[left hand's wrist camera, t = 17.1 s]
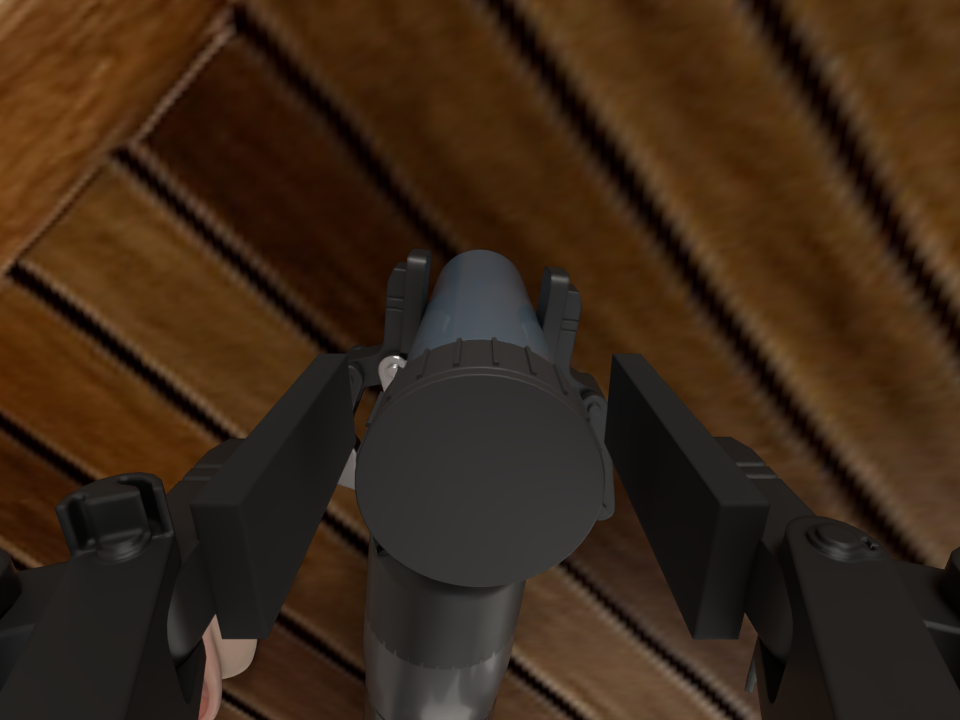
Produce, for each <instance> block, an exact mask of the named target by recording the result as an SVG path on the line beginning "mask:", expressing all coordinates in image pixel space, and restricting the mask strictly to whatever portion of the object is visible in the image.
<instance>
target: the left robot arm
mask: <svg viewBox="0 0 960 720" xmlns="http://www.w3.org/2000/svg"><path fill="white" fill-rule="evenodd" d="M355 444H356V437H355V427H354V416H353V406H352V396H351V386H350V376H349V365H348V355H347V354H319V355H318V356H317V357H316V358H315V359H314V361H313V362H312V363H311V364H310V365H309V366H308V367H307V369H306V370H305V371H304V372H303V373H302V374H301V376H300V377H299V378H298V379H297V380H296V381H295V382H294V384H293V385H292V386H291V387H290V388H289V389H288V391H287V392H286V393H285V394H284V395H283V396H282V397H281V399H280V400H279V401H278V402H277V403H276V404H275V406H274V407H273V408H272V409H271V410H270V411H269V412H268V414H267V415H266V416H265V417H264V418H263V419H262V421H261V422H260V423H259V424H258V425H257V426H256V427H255V429H254V430H253V431H252V432H251V433H250V434H249V436H248V437H247V438H246V439H228V440H227V441H225V442H223V443H221V444H220V445H218V446H216V447H214V448H213V449H211V450H209V451H208V452H207V453H206V454H205V455H204V456H203V457H202V458H201V459H200V460H199V461H198V462H197V463H196V464H195V465H194V466H195V467H194V468H192V469H191V470H190V471H189V472H188V473H187V474H186V475H185V476H184V477H183V480H182V481H179V482H178V483H177V484H176V485H175V486H174V487H173V488H172V489H171V490H170V491H169V492H168V494H167V495H165V491H164V487H163V483H162V480H161V479H160V478H158V477H157V476H155V475H154V474H148V473H142V472H137V473H125V474H119V475H115V476H111V477H107V478H103V479H100V480H98V481H95V482H93V483H90V484H88V485H85V486H83V487H81V488H79V489H78V490H76V491H74V492H73V493H71V494H70V495H68V496H66V497H65V498H64V499H63V500H62V501H61V502H60V503H59V504H58V505H57V506H56V507H55V511H56V514H57V516H58V519H59V522H60V525H61V528H62V530H63V533H64V536H65V539H66V542H67V545H68V547H69V550H70V553H71V557H70V559H69V561H67V562H62V563H57V564H52V565H48V566H43V567H38V568H33V569H28V570H23V571H18V572H16V570H15V567H14V565H13V562H12V560H11V558H10V555H9V554H8V553H7V552H5V551H3V550H2V549H0V720H198V719H199V711H200V704H201V696H202V689H203V681H204V674H205V666H206V658H207V657H206V650H205V645H204V641H203V637H202V636H203V634H204V633H205V631H206V629H207V628H208V626H209V624H210V623H211V621H212V619H213V617H214V616H215V614H216V617H217V621H218V625H219V629H220V633H221V638H222V639H267V638H268V636H269V634H270V631H271V629H272V627H273V625H274V623H275V620H276V618H277V616H278V614H279V612H280V609H281V607H282V605H283V603H284V601H285V598H286V596H287V594H288V592H289V589H290V587H291V585H292V583H293V581H294V578H295V576H296V574H297V572H298V570H299V567H300V565H301V563H302V561H303V559H304V556H305V554H306V552H307V550H308V547H309V545H310V543H311V541H312V539H313V536H314V534H315V532H316V530H317V528H318V525H319V523H320V521H321V519H322V517H323V514H324V512H325V510H326V508H327V505H328V503H329V501H330V499H331V497H332V494H333V492H334V490H335V488H336V486H337V483H338V481H339V479H340V477H341V475H342V472H343V470H344V468H345V466H346V464H347V461H348V459H349V457H350V455H351V452H352V450H353V448H354V446H355ZM604 444H605V446H606V448H607V450H608V452H609V455H610V457H611V459H612V461H613V464H614V466H615V468H616V470H617V472H618V475H619V477H620V479H621V481H622V483H623V486H624V488H625V490H626V492H627V494H628V497H629V499H630V501H631V503H632V506H633V508H634V510H635V512H636V514H637V517H638V519H639V521H640V523H641V525H642V528H643V530H644V532H645V534H646V536H647V539H648V541H649V543H650V545H651V547H652V550H653V552H654V554H655V556H656V559H657V561H658V563H659V565H660V567H661V570H662V572H663V574H664V576H665V578H666V581H667V583H668V585H669V587H670V589H671V592H672V594H673V596H674V598H675V601H676V603H677V605H678V607H679V609H680V612H681V614H682V616H683V618H684V620H685V623H686V625H687V627H688V629H689V631H690V634H691V636H692V638H693V639H738V638H739V633H740V629H741V625H742V621H743V617H744V613H746V615H747V616H748V618H749V620H750V621H751V623H752V625H753V627H754V628H755V630H756V632H757V633H758V637H757V641H756V645H755V649H754V652H753V656H752V660H751V664H750V668H749V672H748V676H747V679H746V686H745V691H746V692H750V693H753V689H754V685H755V682H756V681H757V687H758V695H759V702H760V710H761V717H762V720H960V547H959V548H957V549H955V550H954V551H952V553H951V555H950V558H949V560H948V562H947V565H946V567H945V570H944V569H939V568H934V567H929V566H924V565H919V564H914V563H910V562H905V561H900V560H895V559H891V558H890V556H889V554H888V553H887V552H886V550H885V549H884V548H883V547H882V545H881V544H880V543H879V542H878V541H876V540H875V539H873V538H872V537H871V536H869V535H868V534H866V533H865V532H864V531H862V530H860V529H857V528H855V527H853V526H851V525H849V524H847V523H845V522H841V521H838V520H834V519H831V518H827V517H821V516H816V515H815V514H814V513H813V512H812V511H811V510H810V509H809V508H808V507H807V506H806V505H805V503H804V502H803V501H802V500H801V499H800V498H799V497H798V496H797V495H796V494H795V493H794V492H793V491H792V490H791V489H790V488H789V487H788V486H787V485H786V484H785V483H784V482H783V481H782V480H781V479H778V476H777V475H776V474H775V473H774V471H773V470H772V469H771V468H770V467H766V463H765V462H764V461H763V460H762V459H761V458H760V457H759V456H758V455H757V454H756V453H755V452H754V451H753V450H752V449H751V448H749V447H747V446H745V445H744V444H742V443H740V442H738V441H737V440H735V439H733V438H731V437H712V436H711V434H710V433H709V432H708V431H707V430H706V429H705V427H704V426H703V425H702V424H701V423H700V422H699V421H698V419H697V418H696V417H695V416H694V415H693V414H692V412H691V411H690V410H689V409H688V408H687V407H686V406H685V404H684V403H683V402H682V401H681V400H680V399H679V397H678V396H677V395H676V394H675V393H674V392H673V391H672V389H671V388H670V387H669V386H668V385H667V384H666V382H665V381H664V380H663V379H662V378H661V377H660V376H659V374H658V373H657V372H656V371H655V370H654V369H653V367H652V366H651V365H650V364H649V363H648V362H647V361H646V359H645V358H644V357H643V356H642V355H641V354H613V355H612V365H611V376H610V386H609V396H608V406H607V416H606V426H605V437H604Z"/></svg>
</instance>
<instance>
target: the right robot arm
mask: <svg viewBox="0 0 960 720" xmlns="http://www.w3.org/2000/svg"><path fill="white" fill-rule="evenodd" d="M430 264H431V251H430V250H422V249H414V248H413V249H412V251H411V252H410V253H409V255H408V259H407V263H404V262H399V263H398V264H397V265H396V267H395V268H394V269H393V271H392V273H391V275H390V277H389V279H388V282H387V298H386V313H385V329H384V342H382V343H381V344H379V345H375V346H371V347H366V346H362V345H357V346H354V347H352V348H351V349H349V351H348V352H347V355H348V365H349V376H350V386H351V396H352V406H353V416H355V413H356V411H357V408H358V405H359V402H360V400H361V397H362V394H363V392H364V389H365V387H369V386H374V385H379V384H382V386H383V390H384V392H385V390H386V388H387V387H388V386H389V384H390V383H391V381H392V380H393V379H394V377H395V374H396V372H397V369H398V368H399V367H400V366H401V367H402V368H403V367H404V365H405V362H406V359H407V357H408V354H409V352H410V349H411V347H412V344H413V341H414V339H415V336H416V334H417V331H418V328H419V326H420V323H421V321H422V318H423V315H424V313H425V310H426V307H427V296H428V286H429V275H430ZM581 308H582V305H581V299H580V294H579V292H578V290H577V289H576V288H575V287H574V285H572V284H569V274H568V273H567V272H566V271H565V270H564V268H558V267H550V266H546V267H545V269H544V273H543V278H542V284H541V289H540V295H539V301H538V307H537V312H536V316H537V319H538V321H539V324H540V326H541V329H542V332H543V334H544V337H545V339H546V342H547V345H548V347H549V350H550V352H551V355H552V358H553V360H554V363H556V364H557V365H558V366H559V369H560V372H561V373H562V374H563V376H564V377H565V378H566V379H567V380H568V382H569V383H570V385H571V386H572V388H574V387H577V389H578V391H579V393H580V395H581V398H582V400H583V402H584V404H585V407H586V409H587V411H588V413H589V416H590V418H591V424H592V426H593V428H594V430H595V433H596V435H597V437H598V440H599V442H600V444H601V446H602V450H603V452H601V455H602V459H603V463H604V470H605V491H604V496H603V501H602V506H601V508H600V511H599V514H598V516H597V519H596V520H598V521H601V520H606V519H608V518H609V517H611V516H612V515H613V513H614V511H615V500H614V483H613V466H612V459H611V457H610V455H609V452H608V450H607V448H606V446H605V444H604V437H605V426H606V416H607V406H608V402H607V401H606V399H605V397H604V395H603V393H602V391H601V390H600V388H599V386H598V384H597V382H596V380H595V379H594V377H593V376H592V375H590V374H588V373H579V372H577V371H575V370H573V369H572V368H570V361H571V356H572V352H573V347H574V342H575V337H576V331H577V327H578V321H579V318H580V313H581ZM355 437H356V444H355V446H354V448H353V450H352V452H351V455H350V457H349V459H348V461H347V464H346V466H345V468H344V470H343V472H342V475H341V477H340V479H339V481H338V483H337V484H339V485H342V486H345V487H348V488H351V489H354V490H355V467H356V461H357V457H356V454H357V451H358V449H359V446H360V444H361V442H360V440H359V438H358V437H357V436H356V434H355ZM525 583H526V579H525V580H522V581H519V582H515V583H511V584H506V585H499V586H491V587H471V586H460V585H454V584H449V583H444V582H441V581H438V580H434V579H431V578H429V577H426V576H424V575H421V574H419V573H417V572H415V571H413V570H412V569H410V568H408V567H406V566H405V565H403V564H402V563H400V562H399V561H397V560H396V559H395V558H393V557H392V556H391V555H390V554H389V553H388V552H387V551H386V550H385V549H383V547H382V546H381V545H380V544H379V543H378V542H377V540H376V539H375V538H374V537H373V535H372V534H371V532H370V538H369V554H368V570H367V586H366V600H365V617H364V634H363V651H364V662H365V669H366V680H365V695H364V708H363V720H492V719H493V714H494V709H495V704H496V699H497V694H498V690H499V687H500V685H501V682H502V680H503V677H504V675H505V672H506V670H507V667H508V663H509V659H510V655H511V651H512V646H513V641H514V636H515V631H516V626H517V621H518V617H519V612H520V607H521V602H522V597H523V592H524V588H525Z"/></svg>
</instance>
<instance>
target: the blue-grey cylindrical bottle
mask: <svg viewBox="0 0 960 720" xmlns="http://www.w3.org/2000/svg"><path fill="white" fill-rule="evenodd" d="M492 337H496V338H497V341H502V342H507V343H511V344H515V345H517V346H520V347H523V348H525V346H528V347H530V349H531V351H532V352H534V353H536V354H538V355H540V356H541V357H542V358H544V359H545V360H547V361H548V362H550V363H551V364H552V365H553V364H554V360H553V358H552V355H551V352H550V350H549V347H548V345H547V342H546V339H545V337H544V334H543V332H542V329H541V326H540V324H539V321H538V319H537V316H536V313H535V311H534V308H533V306H532V303H531V300H530V298H529V295H528V293H527V290H526V287H525V285H524V282H523V280H522V277H521V275H520V273H519V271H518V270H517V268H516V267H515V266H514V265H513V263H512V262H510V261H509V260H508V259H507V258H505V257H504V256H502V255H500V254H498V253H496V252H493V251H489V250H471V251H467V252H464V253H462V254H459V255H457V256H456V257H454V258H453V259H452V260H450V261H449V262H448V263H447V264H446V265H445V267H444V268H443V269H442V271H441V272H440V275H439V277H438V279H437V282H436V284H435V287H434V289H433V292H432V295H431V297H430V300H429V302H428V305H427V308H426V310H425V313H424V315H423V318H422V321H421V323H420V326H419V328H418V331H417V334H416V336H415V339H414V341H413V344H412V347H411V349H410V352H409V354H408V357H407V359H406V362H405V365H404V367H405V366H406V365H408V364H409V363H410V362H411V361H413V360H414V359H416V358H417V357H419V356H421V355H422V354H423V352H424V350H425V349H427V348H429V350H432V349H434V348H437V347H439V346H442V345H445V344H449V343H452V342H456V341H457V338H462V341H464V340H476V339H486V340H492ZM404 367H403V368H404Z"/></svg>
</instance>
